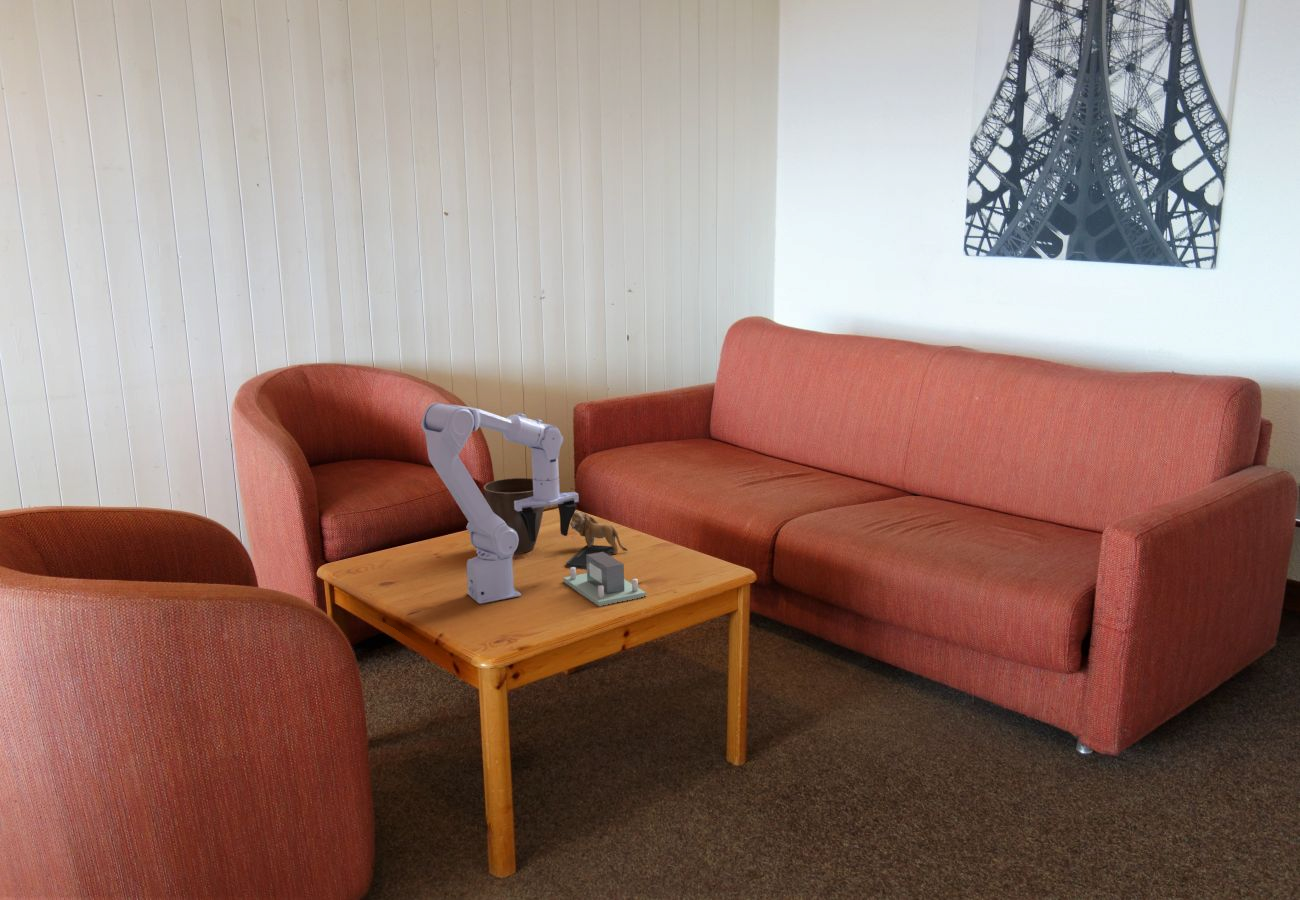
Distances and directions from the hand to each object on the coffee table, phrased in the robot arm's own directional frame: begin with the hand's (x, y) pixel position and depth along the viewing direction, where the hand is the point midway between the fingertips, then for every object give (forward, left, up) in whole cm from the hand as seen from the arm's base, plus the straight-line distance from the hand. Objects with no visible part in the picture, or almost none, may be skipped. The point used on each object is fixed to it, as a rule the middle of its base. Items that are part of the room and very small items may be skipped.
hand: (548, 537), depth 245 cm
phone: (+14, +8, -10) cm, 19 cm away
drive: (+7, -14, -8) cm, 18 cm away
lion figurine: (+18, +13, -10) cm, 24 cm away
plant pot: (+2, +24, -10) cm, 26 cm away
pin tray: (+7, -13, -9) cm, 18 cm away
